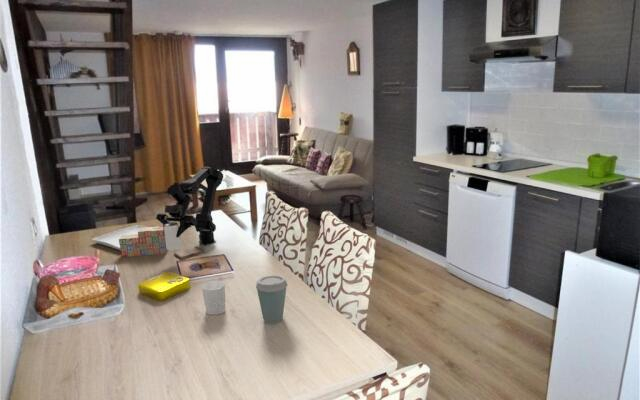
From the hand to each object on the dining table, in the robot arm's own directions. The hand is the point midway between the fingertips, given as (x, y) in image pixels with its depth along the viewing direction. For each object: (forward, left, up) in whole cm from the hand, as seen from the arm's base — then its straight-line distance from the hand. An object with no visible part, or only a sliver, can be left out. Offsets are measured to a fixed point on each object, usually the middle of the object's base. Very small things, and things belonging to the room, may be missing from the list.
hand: (170, 236), depth 204 cm
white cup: (+9, +53, -14) cm, 55 cm away
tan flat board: (-11, -7, -13) cm, 19 cm away
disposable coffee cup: (-2, +73, -13) cm, 74 cm away
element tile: (+15, +23, -14) cm, 31 cm away
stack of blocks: (+3, -24, -14) cm, 28 cm away
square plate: (+2, -49, -14) cm, 51 cm away
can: (-1, -1, -7) cm, 7 cm away
